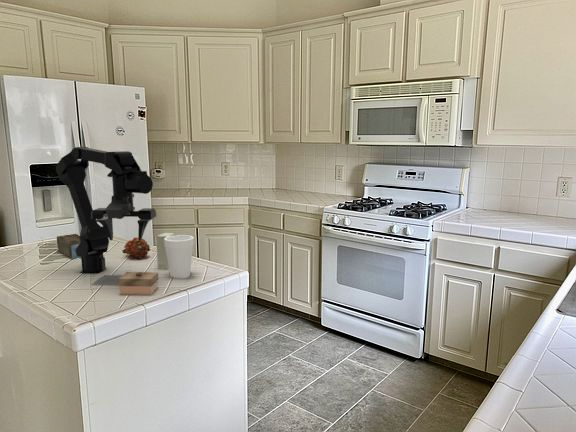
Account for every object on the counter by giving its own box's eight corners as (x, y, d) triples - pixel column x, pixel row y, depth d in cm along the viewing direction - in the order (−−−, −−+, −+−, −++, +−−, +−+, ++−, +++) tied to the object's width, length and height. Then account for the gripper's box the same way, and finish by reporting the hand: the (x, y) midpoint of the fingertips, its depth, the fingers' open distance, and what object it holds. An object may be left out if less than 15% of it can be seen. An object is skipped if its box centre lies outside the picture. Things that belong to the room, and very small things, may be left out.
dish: (120, 295, 125) (119, 285, 125) (128, 288, 131) (127, 279, 131) (151, 296, 125) (150, 286, 125) (157, 289, 131) (157, 279, 131)
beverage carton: (71, 260, 163) (69, 243, 162) (56, 250, 177) (55, 235, 176) (93, 256, 168) (92, 240, 167) (77, 247, 182) (76, 232, 181)
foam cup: (167, 281, 138) (166, 242, 136) (163, 273, 146) (162, 236, 144) (197, 278, 142) (196, 239, 140) (191, 270, 150) (190, 234, 148)
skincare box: (168, 271, 149) (167, 236, 147) (157, 270, 150) (155, 236, 148) (177, 266, 156) (175, 232, 154) (165, 265, 156) (164, 232, 154)
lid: (118, 286, 125) (118, 276, 124) (127, 279, 131) (126, 269, 131) (151, 286, 125) (150, 276, 124) (158, 279, 131) (158, 269, 130)
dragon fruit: (146, 264, 163) (127, 264, 170) (159, 247, 168) (140, 248, 175) (132, 249, 158) (113, 249, 165) (146, 232, 163) (127, 233, 170)
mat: (90, 286, 133) (90, 285, 133) (104, 276, 143) (104, 275, 143) (129, 286, 133) (129, 285, 133) (140, 276, 143) (140, 275, 143)
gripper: (80, 194, 128) (84, 246, 130) (143, 195, 127) (146, 246, 130) (97, 190, 139) (101, 238, 141) (155, 190, 138) (157, 238, 141)
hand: (125, 240), depth 138 cm, fingers open, 9 cm apart
